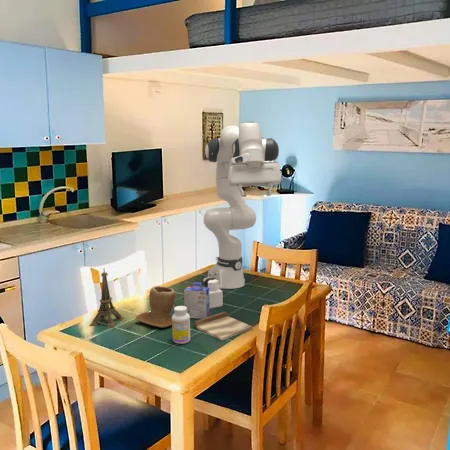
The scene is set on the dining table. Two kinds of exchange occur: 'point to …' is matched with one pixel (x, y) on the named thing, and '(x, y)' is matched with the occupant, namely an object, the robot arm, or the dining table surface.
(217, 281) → the medicine bottle
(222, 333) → the oak board
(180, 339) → the supplement bottle
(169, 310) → the brown boot planter
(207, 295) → the ink cartridge box
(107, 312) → the eiffel tower
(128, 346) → the dining table surface
